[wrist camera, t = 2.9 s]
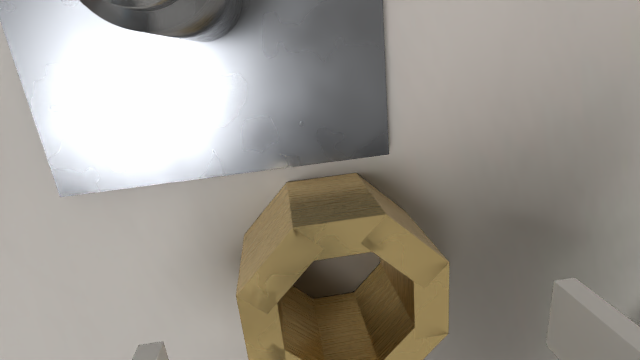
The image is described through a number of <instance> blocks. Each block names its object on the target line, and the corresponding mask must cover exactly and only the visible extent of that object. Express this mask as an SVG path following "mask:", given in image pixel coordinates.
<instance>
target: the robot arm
mask: <svg viewBox="0 0 640 360" xmlns="http://www.w3.org/2000/svg"><path fill="white" fill-rule="evenodd" d="M546 346H547V347H548V348H549V349H550V350H551V351H552V352H553V353H554V354H555V355H556V356H557V358H558V359H559V360H640V327H639V326H638V325H636V324H635V323H634V322H633V321H631V320H630V319H629V318H627V317H626V316H625V315H623V314H622V313H621V312H619V311H618V310H617V309H616V308H614V307H613V306H612V305H610V304H609V303H608V302H606V301H605V300H604V299H602V298H601V297H600V296H598V295H597V294H596V293H595V292H593V291H592V290H591V289H589V288H588V287H587V286H585V285H584V284H583V283H581V282H580V281H579V280H577V279H576V278H568V279H562V280H555V281H554V283H553V291H552V299H551V307H550V315H549V323H548V331H547V339H546ZM132 360H169V359H168V356H167V352H166V349H165V345H164V342H156V343H150V344H143V345H139V346H138V348H137V350H136V352H135V354H134V356H133V359H132Z"/></svg>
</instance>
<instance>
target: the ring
mask: <svg viewBox="0 0 640 360" xmlns="http://www.w3.org/2000/svg"><path fill="white" fill-rule="evenodd" d="M368 252H373V253H375V254H376V255H378V256H379V257H380V264H379V265H378V266H377V267H376V269H375V270H374V271H373V272H372V273H371V274H370V275H369V276H368V277H367V278H366V280H365V281H364V282H363V283H362V284H361V285H360V286H359V287H358V288H357V290H356V291H355V292H354V293H348V294H341V295H335V296H329V297H323V298H317V299H313V298H311V297H310V296H308V295H306V294H305V293H303V292H302V291H300V290H298V289H297V288H295V287H294V286H292V285H293V284H294V283H295V282H296V281H297V279H298V278H299V277H300V276H301V275H302V274H303V273H304V271H305V270H306V269H307V268H308V267H309V266H310V264H311V263H312V262H313V261H315V260H322V259H328V258H335V257H341V256H348V255H355V254H361V253H368ZM236 298H237V304H238V309H239V314H240V319H241V324H242V329H243V334H244V339H245V344H246V349H247V354H248V359H249V360H423V359H424V358H425V357H426V356H427V355H428V354H429V353H430V352H431V351H432V350H433V349H434V348H435V347H436V346H437V345H438V344H439V343H440V342H441V341H442V340H443V339H444V338H445V337H446V336H447V335H448V328H449V261H448V260H447V259H446V258H445V257H444V256H443V254H442V253H441V252H440V251H439V250H438V249H437V247H436V246H435V245H434V244H433V243H432V242H431V241H430V239H429V238H428V237H427V236H426V235H425V234H424V232H423V231H422V230H421V229H420V228H419V227H418V226H417V224H416V223H415V222H414V221H413V220H412V219H411V217H410V216H409V215H408V214H407V213H406V212H405V211H404V210H403V209H402V208H400V207H399V206H398V205H396V204H395V203H394V202H393V201H391V200H390V199H389V198H387V197H386V196H385V195H384V194H382V193H381V192H380V191H379V190H377V189H376V188H375V187H373V186H372V185H371V184H370V183H368V182H367V181H366V180H364V179H363V178H362V177H361V176H359V175H358V174H357V173H352V174H345V175H337V176H330V177H322V178H315V179H307V180H300V181H292V182H287V183H286V184H285V185H284V186H283V188H282V189H281V190H280V191H279V192H278V194H277V195H276V196H275V197H274V199H273V200H272V201H271V202H270V204H269V205H268V206H267V207H266V208H265V210H264V211H263V212H262V213H261V215H260V216H259V217H258V218H257V220H256V221H255V222H254V223H253V225H252V226H251V227H250V228H249V229H248V231H247V232H246V233H245V235H244V242H243V249H242V256H241V263H240V270H239V278H238V285H237V292H236Z"/></svg>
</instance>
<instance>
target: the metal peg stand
mask: <svg viewBox="0 0 640 360" xmlns="http://www.w3.org/2000/svg"><path fill="white" fill-rule="evenodd" d="M0 22H1V25H2V28H3V31H4V33H5V36H6V39H7V42H8V45H9V48H10V51H11V54H12V57H13V60H14V63H15V66H16V69H17V72H18V75H19V78H20V80H21V83H22V86H23V89H24V92H25V95H26V98H27V101H28V104H29V107H30V110H31V113H32V116H33V119H34V122H35V125H36V127H37V130H38V133H39V136H40V139H41V142H42V145H43V148H44V151H45V154H46V157H47V160H48V163H49V166H50V169H51V172H52V174H53V177H54V180H55V183H56V186H57V189H58V192H59V195H60V197H64V196H72V195H80V194H87V193H95V192H103V191H110V190H118V189H126V188H133V187H141V186H149V185H157V184H164V183H172V182H180V181H187V180H195V179H203V178H210V177H218V176H226V175H234V174H241V173H249V172H257V171H264V170H272V169H280V168H287V167H295V166H303V165H311V164H318V163H326V162H334V161H341V160H349V159H357V158H364V157H372V156H380V155H388V154H389V145H388V120H387V96H386V72H385V48H384V24H383V0H0Z"/></svg>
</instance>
